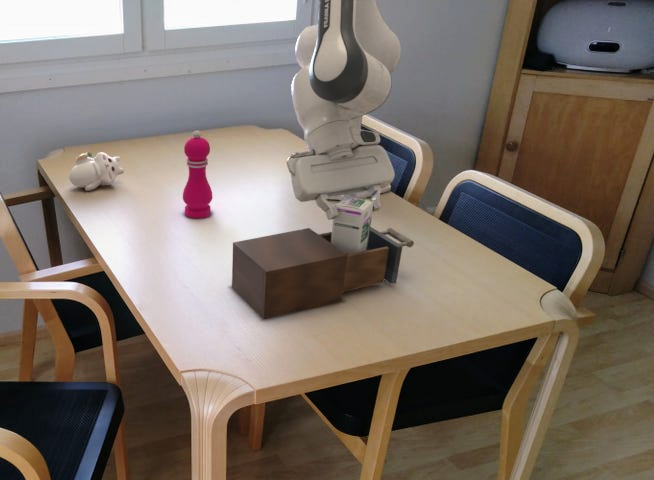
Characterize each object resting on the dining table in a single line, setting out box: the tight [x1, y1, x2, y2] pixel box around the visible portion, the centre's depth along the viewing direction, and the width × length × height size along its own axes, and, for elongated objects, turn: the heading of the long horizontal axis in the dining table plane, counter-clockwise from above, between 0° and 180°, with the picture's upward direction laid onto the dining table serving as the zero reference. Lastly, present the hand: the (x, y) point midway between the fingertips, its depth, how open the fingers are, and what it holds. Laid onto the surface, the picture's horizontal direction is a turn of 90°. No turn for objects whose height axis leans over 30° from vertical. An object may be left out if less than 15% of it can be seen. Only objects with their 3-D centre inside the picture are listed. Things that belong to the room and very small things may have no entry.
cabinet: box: [231, 227, 348, 320], centre depth 128 cm, size 17×14×10 cm
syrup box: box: [331, 195, 374, 255], centre depth 129 cm, size 6×6×14 cm
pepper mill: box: [182, 130, 213, 219], centre depth 160 cm, size 7×7×20 cm
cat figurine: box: [68, 152, 125, 192], centre depth 182 cm, size 10×8×15 cm
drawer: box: [317, 225, 415, 293], centre depth 133 cm, size 20×12×8 cm, turn 111°
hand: (355, 214), depth 126 cm, fingers closed on syrup box, 8 cm apart
